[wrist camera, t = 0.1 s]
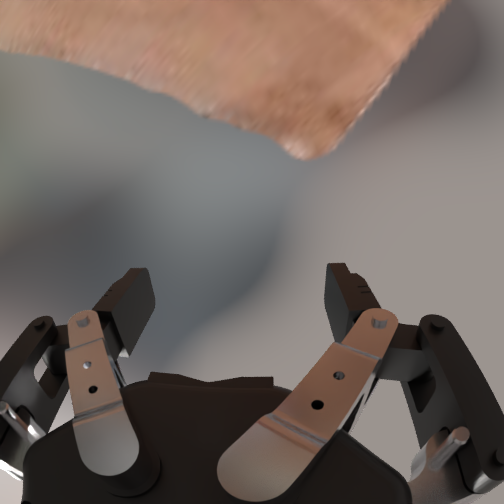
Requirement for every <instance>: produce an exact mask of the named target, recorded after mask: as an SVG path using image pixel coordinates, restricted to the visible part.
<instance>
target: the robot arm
mask: <svg viewBox="0 0 504 504" xmlns="http://www.w3.org/2000/svg"><path fill="white" fill-rule="evenodd" d="M324 302H325V309H326V312H327V316H328V319H329V322H330V326H331V330H332V333H333V336H334V340H335V342H333V343H332V345H331V346H330V347H329V348H328V350H327V351H326V352H325V353H324V355H323V356H322V357H321V358H320V359H319V361H318V362H317V363H316V364H315V366H314V367H313V368H312V369H311V370H310V371H309V373H308V374H307V375H306V376H305V377H304V378H303V380H302V381H301V382H300V383H299V384H298V385H297V387H296V388H295V389H294V390H293V391H291V390H289V389H286V388H282V387H278V386H274V384H273V377H238V378H233V379H227V380H221V381H215V382H204V381H200V380H197V379H193V378H190V377H186V376H183V375H179V374H169V373H158V372H150V375H149V377H148V380H144V381H139V382H135V383H132V384H129V385H127V384H126V382H125V379H124V376H123V374H122V371H121V368H120V366H119V363H118V361H117V358H118V356H122V357H129V356H130V355H131V353H132V351H133V349H134V347H135V345H136V343H137V341H138V339H139V337H140V335H141V333H142V331H143V330H144V328H145V326H146V324H147V322H148V320H149V318H150V316H151V314H152V313H153V311H154V308H155V296H154V292H153V288H152V284H151V280H150V276H149V272H148V270H147V268H130V269H129V271H128V272H127V273H126V274H125V275H124V276H123V278H121V279H120V280H118V281H116V282H115V283H114V284H112V286H111V287H110V288H109V289H108V291H107V292H106V293H105V294H104V296H102V298H101V299H100V300H99V302H98V303H97V304H96V305H95V306H94V308H93V309H92V310H84V311H81V312H78V313H76V314H75V315H73V316H72V317H71V318H70V319H69V321H68V324H67V325H60V326H56V325H55V323H54V321H53V318H52V317H50V316H42V317H39V318H37V319H35V320H33V321H32V322H31V323H30V324H29V325H28V327H27V328H26V329H25V330H24V331H23V333H22V334H21V335H20V336H19V338H18V339H17V340H16V341H15V343H14V344H13V345H12V346H11V348H10V349H9V350H8V352H7V353H6V354H5V356H4V357H3V358H2V360H1V361H0V468H2V469H4V470H5V471H6V472H7V473H9V474H10V475H11V476H13V477H14V478H15V479H18V480H23V495H22V501H21V504H470V503H472V502H474V501H475V500H477V499H478V498H480V497H482V496H483V495H485V494H486V493H487V492H489V491H491V490H492V489H493V488H495V487H496V486H498V485H499V484H500V483H502V482H503V481H504V414H503V412H502V411H501V408H500V406H499V404H498V402H497V400H496V398H495V396H494V394H493V392H492V390H491V388H490V386H489V384H488V383H487V381H486V379H485V377H484V375H483V373H482V372H481V370H480V368H479V366H478V365H477V363H476V361H475V360H474V358H473V356H472V355H471V353H470V351H469V350H468V348H467V346H466V345H465V343H464V341H463V340H462V338H461V337H460V335H459V334H458V332H457V331H456V329H455V328H454V326H453V324H452V323H451V322H450V321H449V320H448V319H446V318H445V317H442V316H439V315H433V314H431V315H426V316H424V317H422V318H421V320H420V323H419V326H416V325H406V324H400V323H398V319H397V317H396V316H395V315H394V314H393V313H392V312H390V311H388V310H385V309H381V307H380V305H379V303H378V302H377V300H376V298H375V296H374V294H373V293H372V291H371V289H370V288H369V287H368V284H367V282H366V281H365V279H364V278H362V277H361V276H360V275H358V274H357V273H354V274H353V273H350V271H349V270H348V268H347V266H346V264H345V263H328V264H327V269H326V281H325V294H324ZM41 357H42V359H43V360H44V362H45V364H46V365H47V369H46V371H45V372H44V374H43V376H42V377H41V379H40V381H39V382H37V380H36V379H35V376H34V368H35V366H36V364H37V363H38V361H39V360H40V358H41ZM380 379H387V380H397V381H400V382H401V385H402V388H403V391H404V394H405V398H406V400H407V404H408V407H409V410H410V413H411V417H412V420H413V424H414V427H415V430H416V434H417V438H418V442H419V446H420V449H421V450H420V451H419V452H418V453H417V454H416V455H415V457H414V459H413V461H412V464H411V478H410V481H409V482H406V480H405V478H404V477H403V476H402V475H401V474H400V473H399V472H398V471H396V470H395V469H394V468H392V467H391V466H390V465H388V464H387V463H385V462H384V461H383V460H381V459H380V458H379V457H378V456H376V455H375V454H374V453H372V452H371V451H370V450H368V449H367V448H366V447H364V446H363V445H362V444H361V443H359V442H358V441H357V440H356V439H354V438H353V437H351V435H350V433H351V432H352V430H353V428H354V426H355V424H356V423H357V421H358V419H359V417H360V415H361V413H362V411H363V409H364V408H365V406H366V404H367V402H368V401H369V399H370V397H371V395H372V393H373V391H374V390H375V388H376V386H377V384H378V382H379V380H380ZM69 388H70V393H71V399H72V405H73V410H74V418H73V419H71V420H70V421H68V422H66V423H65V424H63V425H62V426H60V427H58V428H56V429H55V430H53V431H51V432H50V433H48V432H49V429H50V427H51V425H52V423H53V420H54V418H55V416H56V414H57V412H58V410H59V408H60V406H61V404H62V402H63V400H64V398H65V396H66V394H67V392H68V390H69Z"/></svg>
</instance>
